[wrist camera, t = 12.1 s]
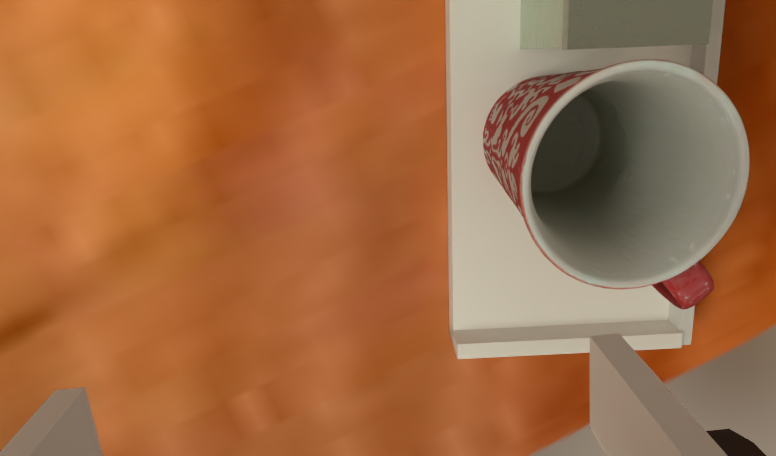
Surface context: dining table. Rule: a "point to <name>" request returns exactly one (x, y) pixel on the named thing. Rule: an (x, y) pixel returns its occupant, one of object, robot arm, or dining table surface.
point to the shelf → (502, 218)
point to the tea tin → (613, 23)
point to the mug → (623, 172)
